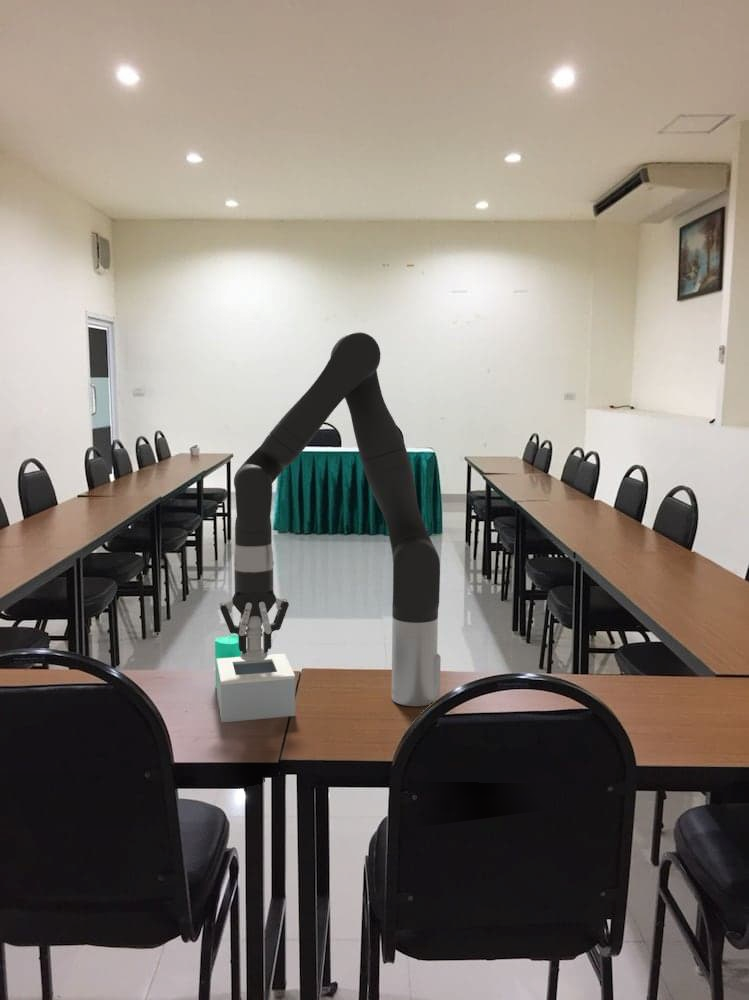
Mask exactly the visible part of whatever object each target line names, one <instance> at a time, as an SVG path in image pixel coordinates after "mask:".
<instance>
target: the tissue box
mask: <svg viewBox="0 0 749 1000" xmlns="http://www.w3.org/2000/svg"><path fill="white" fill-rule="evenodd" d="M216 662H217V689H216V697H217V704H218V708H219V709H218V710H220V711H219V716H220V720H221V723H231V722H232V723H233V722H240V721H254V720H261V719H262V720H264V719H265V720H266V719H274V718H276V719H277V718H285V717H286V718H287V717H296V674H295V672H294V671H293V668H292V666H291V664H290V662H289V660H288V658H287V656H286V654H285V653H275V654H274V653H273V654H272V653H271V654H268V655H267V657H266V658H265V659H264V660H260V661H245V660H243V659H241V657H230V658H216Z"/></svg>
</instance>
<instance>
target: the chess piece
mask: <svg viewBox="0 0 749 1000" xmlns="http://www.w3.org/2000/svg"><path fill="white" fill-rule="evenodd" d="M262 626H263V621H262V618H260V617H258V616H252V617H250V618H249V620H248V624H247V627H246V631H245V634H246V651H247V653H245V654H243V653H241V655H240V657H241V659H243V660H245V661H260V660H264V659H265V658H266V657H267V655H269V654H268V652H264V649H263V648H262V638H263V632H264V631H263V628H262Z"/></svg>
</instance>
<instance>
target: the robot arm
mask: <svg viewBox="0 0 749 1000" xmlns="http://www.w3.org/2000/svg"><path fill="white" fill-rule="evenodd" d="M380 363H381V350H380V346H379V344H378V342H377V341H376V339H375V338H374V337H373V336H371V335H370V334H368V333H365V332H360V331H356V332H355V331H354V332H350V333H347V334H344V335H343V336H342V337H341V338H339V340H337V342H335V345H334V346H333V347H332V350H331V352H330V358H329V360H328V362H327V363H326V365H325V367H324V369H323V370H322V371H321V373H320V374H319V376H318V377H317V378H316V380H314V382H313V383H312V385H311V386H310V387H309V389H307V390H306V392H305V393H304V394H303V395H302V396H301V397H300V398H299V399H298V400H297V401H296V402H295V404H294V405H293V406H292V407H291V408H289V410H288V411H287V412H286V413H285V414H284V415H283V416H282V418H281V419H280V420H279V421H278V422H277V424H276V425H275V426H274V427H273V429H271V431H270V432H269V434H268V435H267V436H266V437H265V439H264V441H262V443H261V445H260V446H259V447H258V448H257V449H256V450H255V451H254V452H253V453H252V454H251V455H250V456H249V457H248V458H247V459H246V460H245V461H244V462H243V463H242V464H241V466H240V467H239V468H238V469H237V471H236V472H235V474H234V478H233V486H234V493H235V494H234V495H235V509H236V517H235V518H236V519H235V523H234V524H235V525H234V540H235V542H234V544H235V545H234V557H233V561H234V562H233V563H234V564H233V566H234V567H233V568H234V569H233V571H234V574H233V575H234V594H233V596H232V598H231V600H229V601H226V602H221V603H220V604H219V608H220V609H219V610H220V611H221V614H222V617H223V619H224V621H225V623H226V626H227V629H228V632H229V634H234V635H238V643H239V650H240V651H242V653H243V654H245V653H247V651H246V649H247V637H246V629H247V628H248V627H247V624H248V620H249V618H250V617H252V616H258V617H260V618H262V621H263V623H262V626H263V629H264V631H262V634H263V635H262V642H263V646H262V647H263V648H262V649H263V650H264V652H267V653H268V652H269V650H271V648H272V633H273V632H275V631H279V630H281V627H282V624H283V621H284V620H285V617H286V614H287V611H288V608H289V606H290V604H289V602H288V600H287V599H285V598H282V599H281V598H278V597H277V596H276V595H275V590H274V563H275V562H274V552H273V545H272V544H273V543H272V540H273V539H272V520H271V515H272V502H273V483H274V482H275V481H276V480H277V478H278V477H279V476H280V475H281V473H282V472H283V471H284V470H285V469H286V468H288V467H289V466H291V464H293V462H295V460H296V459H298V457H299V456H300V455H301V453H302V452H303V451H304V450H305V449H306V447H307V445H309V443H310V442H311V441H312V440H313V438H314V437H315V436H316V434H317V433H318V432H319V431H320V429H321V428H322V426H323V425H324V424H325V422H326V421H327V419H328V418H329V417H330V415H332V413H333V411H335V409H336V408H337V407H338V406H339V405H340V403H341V402H342V401H343V400H345V401H346V405H347V407H348V410H349V414H350V419H351V424H352V428H353V433H354V436H355V438H354V439H355V441H356V446H357V450H358V453H359V457H360V460H361V464H362V467H363V471H364V473H365V477H366V479H367V484H368V485H369V487H370V490H371V492H372V495H373V497H374V499H375V501H376V504H377V505H378V507H379V509H380V511H381V513H382V516H383V518H384V521H385V525H386V528H387V529H386V530H387V534H388V537H389V542H390V547H391V554H392V564H393V565H392V569H393V570H392V611H391V612H392V616H391V617H392V618H391V619H392V622H391V625H392V626H391V628H392V629H391V630H392V631H391V634H392V635H391V645H392V646H391V690H390V691H391V700H392V701H393V702H394V703H396V704H399V705H402V706H407V707H425V706H429V705H432V704H433V703H432V702H434V701H435V700H436V699H437V698H439V697H440V698H441V655H439V653H438V637H439V635H438V631H439V630H438V628H439V627H438V626H439V625H438V624H439V621H438V620H439V607H440V587H441V561H440V557H439V554H438V551H437V549H436V547H435V546H434V544H433V542H432V540H431V536H430V535H429V532H428V531H427V528H426V525H425V522H424V519H423V518H422V514H421V511H420V508H419V504H418V503H419V502H418V497H417V496H418V495H417V489H416V483H415V478H414V473H413V472H414V471H413V469H412V465H411V461H410V458H409V457H410V456H409V454H408V451H407V447H406V444H405V441H404V439H403V437H402V436H403V435H402V434H401V432H400V430H399V428H398V426H397V424H396V422H395V420H394V418H393V416H392V414H391V412H390V411H389V409H388V406H387V404H386V403H385V399H384V397H383V393H382V390H381V386H380V381H379V376H378V371H377V369H378V368H379V365H380ZM275 604H276V605H275ZM274 605H275V609H276V614H275V617H274V620H273V622H272V623H271V622H270V619H269V614H268V613H269V612H270V611H271V609H272V608H273V606H274ZM233 607H235V608H236V610H237V611H238V612H239V613H240V616H239V623H238V625H235V623H234V621H233V619H232V616H231V613H232V612H233ZM431 703H432V704H431ZM434 703H435V702H434Z"/></svg>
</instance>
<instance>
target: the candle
mask: <svg viewBox="0 0 749 1000" xmlns="http://www.w3.org/2000/svg"><path fill="white" fill-rule="evenodd" d="M214 651H215V652H214V656H215V658H214V661H215V663H214V664H215V668H214V669H215V689H216V688H217V662H216V658H230V657H240V655H241V653H242V651H240V650H239V643H238V634H231V635H230V634H228V635H227V636H218V637H217V638H216V639H214Z"/></svg>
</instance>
